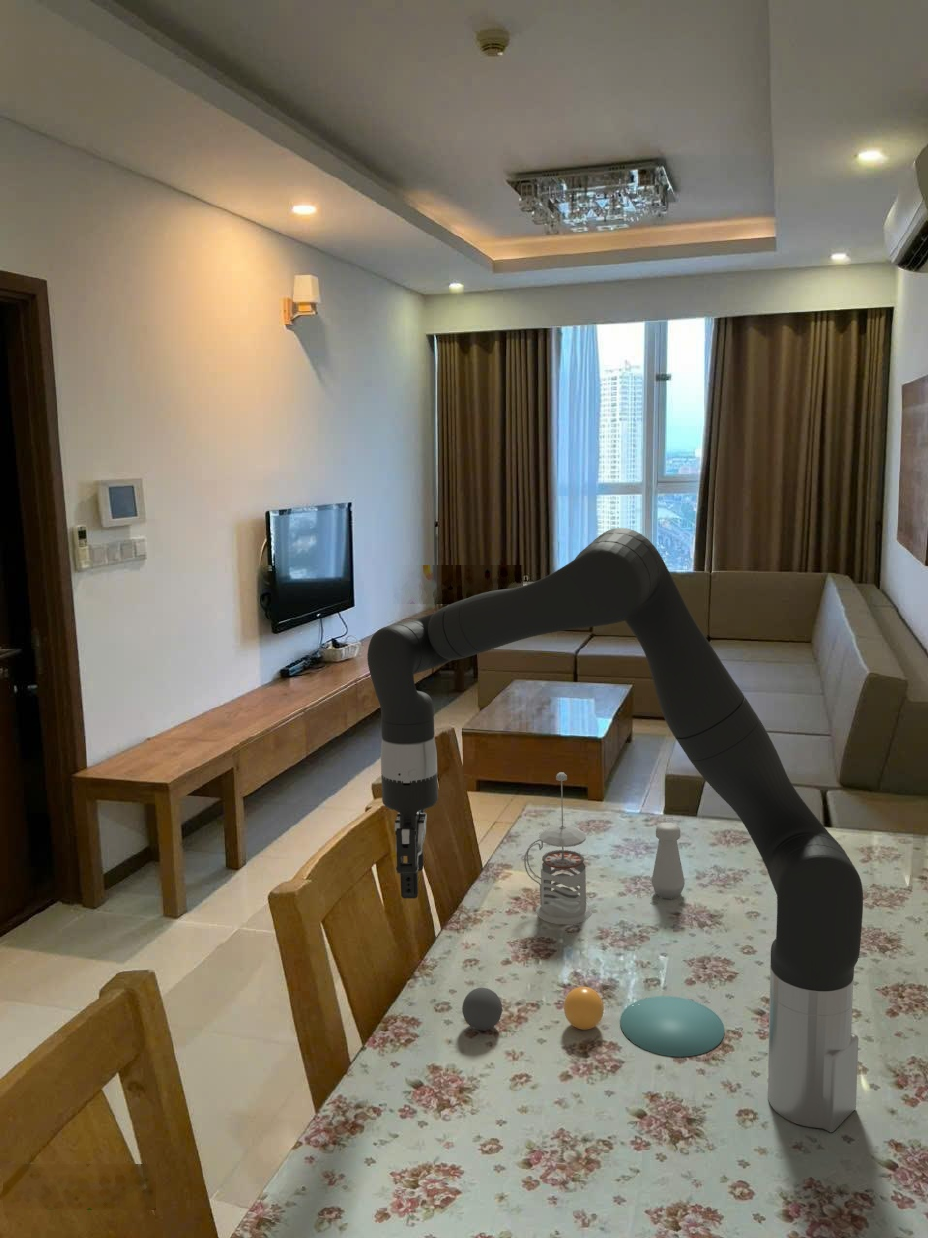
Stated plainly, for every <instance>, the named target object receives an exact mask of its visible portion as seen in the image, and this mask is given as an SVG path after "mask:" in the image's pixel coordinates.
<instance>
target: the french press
mask: <svg viewBox="0 0 928 1238" xmlns="http://www.w3.org/2000/svg"><path fill="white" fill-rule="evenodd" d="M555 780H556V781H557V782H558V781H559V782H560V791H561V792H560V793H561V795H560V798H561V799H560V801H561V802H560V803H561V824H558V825H552V826H549V827H547V828H545V829H543V830H542V831H541V832H540V833H539V837H538V838H539V839H537V840H534V841H532V843H531V844H530V845H529V847H528V848H527V849H526V851H525V854H524V857H523V860H524V861H523V862H524V869H525V871H526V874H527V875H528V877H529V878H530V879H531V880H532V881H534V882H536V883H537V884H538V885H539V898H540V899H539V901H540V902H539V904H538V905H537V906H536V908H535V914H536V915H537V916H538V917H539V918H540V919H541V920H543V921H545V922H547V923H551V924H556V925H573V924H579V923H582V922H584V921H586V920H588V919H589V918H590V917H591V916H592V915H593V909H592V907H590V905H589V904H588V903H587V880H586V879H587V877H586V876H587V874H586V873H587V871H586V868H587V867H586V864H585V863H584V860H585V859H584V858H585V857H584V855H582V854H581V853H580V852H577V851H575V850H569V849H567V850H566V849H565V850H564V848H569V847H576V846H580V845H581V844H583V843H584V842H585V841H586V839H587V833H585V831H583V830H581V829H579V828H578V827H575V826H572V825H569V824H564V809H563V808H564V807H563V806H564V805H563V803H564V801H563V798H564V797H563V794H564V793H563V781H567V780H568V775H567V774H566V773H565V772H564V771H563V772H561V771H560V772H558V773H557V774H556V775H555ZM539 842H540V843H541V844H540V843H539ZM544 844H546V845H549V846H553V847H559V848H562V849H556V850H555V849H554V850H551V851H547V852H546V853H544V854H543V855H542V860H541V861H542V864H541V865H542V866H541V868H540V876H539V875H537V874H536V873H535V872H534V871H533V870H532V868H531V867H530V862H529V852H530V849H532V848H533V847H534V846H536V845H538V849H539V850H538V851H542V849H543V847H544ZM526 863H527V864H526ZM528 869H529V871H530V872H531V874H533V876H534V877H536V878H538V879H539V880H540V882H539V881H538V880H536V879H534V878H533V877H532V876H531V874H530V872H529V871H528ZM573 869H575V870H576V871H578V872H579V873H577V872H575V870H573ZM559 871H565V872H569V873H571V874H569V873H564V872H561V873H557V874H555V872H559ZM552 882H553V883H552ZM559 885H562V886H559ZM578 886H579V887H578ZM573 889H574V890H573Z"/></svg>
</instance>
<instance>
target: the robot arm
mask: <svg viewBox="0 0 928 1238" xmlns="http://www.w3.org/2000/svg"><path fill="white" fill-rule="evenodd" d="M624 621H625V622H626V624H627V626H628V627H629V629H630V630H631V631H632V633H633V634H634V636H635V637H636V640H638V642H639V644H640V646H641V648H642V650H643V653H644V655H645V658H646V660H647V665H648V666H649V670H650V674H651V677H652V681H653V685H654V689H655V692H656V697H657V700H658V704H659V705H660V706H659V707H660V710H661V712H662V715H663V718H664V720H665V722H666V725H667V726H668V728H669V730H670V733H672V735H673V737H674V738H675V740H676V742H677V743H678V745H680V747H681V749H682V751H683V752H684V753H685V755H686V756H687V758H688V760H689V761H690V762H691V765H693V766H694V768H695V769H696V771H698V773H699V774H700V775H701V777H702V778H703V779H704V780H705V782H706V783H707V784H708V785H709V786H710V787H711V788H712V789H713V790H714V791H715V793H716V794H718V795H719V796H720V797H721V798H722V799H723V800H724V801H725V802H726V804H727V805H729V807H730V808H731V809H732V810H733V811H734V812H735V814H736V815H737V816H738V818H739V819H740V820H741V822H742V823H743V826H744V827H745V829H746V831H747V832H748V834H749V836H750V838H751V840H752V841H753V844H754V845H755V847H756V849H757V851H758V852H759V856H760V857H761V859H762V862H763V863H764V865H765V868H766V870H767V872H768V873H767V874H768V876H769V879H770V882H771V884H772V886H773V889H774V893H776V932H775V939H774V940H773V942H772V944H771V946H770V969H769V970H770V971H769V973H770V974H769V1008H768V1010H769V1011H768V1015H769V1016H768V1020H769V1021H768V1057H767V1059H768V1060H767V1061H768V1062H767V1063H768V1064H767V1065H768V1066H767V1067H768V1068H767V1071H768V1072H767V1099H768V1102H769V1104H770V1106H771V1107H772V1109H773V1110H774V1111H775V1112H776V1113H778V1115H780V1116H781V1117H783V1119H786V1120H788V1121H789V1122H792V1123H794V1124H796V1125H799V1126H804V1127H807V1128H818V1129H823V1130H825V1131H827V1132H830V1133H833V1132H834V1131H836V1130H837V1128H839V1126H841V1124H842V1123H843V1122H844V1121H845V1120H846V1119H847V1118H848V1117H849V1116H850V1115H851V1114H852V1113H853V1112H855V1110H856V1109H857V1092H858V1091H857V1090H858V1064H859V1063H858V1061H859V1037H858V1035H857V1034H855V1033H854V1032H853V1033H852V1030H853V1029H852V1027H853V1026H852V1024H853V1001H854V1000H853V998H854V997H853V996H854V976H855V966H856V964H857V962H859V961H858V960H859V958H860V953H861V943H862V942H861V941H862V929H863V927H862V926H863V925H862V924H863V914H864V912H863V911H864V891H863V884H862V880H861V876H860V874H859V872H858V871H857V870H858V869H856V867H855V865H854V864H853V862H852V860H851V859H850V857H849V856H848V854H847V853H846V851H845V850H844V848H843V847H842V845H840V843H839V842H838V841H837V840H836V838H835V837H834V836H833V835H832V834H831V833H830V832H829V830H827V828H826V827H825V826H824V825H823V824H822V823H821V821H820V820H819V819H818V818H817V816H816V815H815V814H814V813H813V811H812V810H811V809H810V808H809V806H808V805H807V803H806V802H805V801H804V800H803V798H802V797H801V796H800V794H799V793H798V792H797V790H796V789H795V787H794V785H793V784H792V782H791V780H790V778H789V776H788V773H787V772H786V770H785V768H784V765H783V763H782V760H781V757H780V756H779V754H778V751H777V749H776V747H775V745H774V743H773V741H772V739H771V737H770V735H769V734H768V731H767V730H766V728H765V727H764V724H763V723H762V721H761V720H760V718H759V717H758V715H757V713H756V712H755V710H754V708H753V707H752V705H751V703H749V700H748V699H747V697H746V696H745V695H744V693H743V692H742V689H740V687H739V686H738V684H737V683H736V682H735V680H734V679H733V677H732V675H731V674H730V673H729V672H728V670H727V669H726V667H725V665H724V664H723V662H722V660H721V659H720V657H719V656H718V654H717V652H716V651H715V649H714V647H712V645H711V643H710V642H709V640H708V639H707V637H706V636H705V635H704V633H703V632H702V630H701V629H700V627H699V625H698V624H697V623H696V621H695V619H694V617H693V615H692V614H691V612H690V610H689V609H688V606H687V605H686V603H685V600H684V598H683V597H682V595H681V592H680V591H679V588H678V587H677V585H676V583H675V581H674V579H673V577H672V574H671V573H670V571H669V569H668V566H667V564H666V563H665V561H664V559H663V557H662V555H661V554H660V552H659V550H658V548H657V547H655V545H654V544H653V543H652V542H651V540H649V539H648V537H646V536H645V535H643V534H642V533H639V532H638V531H636V530H633V529H631V528H625V527H615V528H611V529H608V530H606V531H604V532H603V533H602V534H600V535H599V536H597V537H596V538H595V539H594V540H593V541H591V542H590V543H589V544H588V545H587V546H586V547H584V549H582V550H581V551H580V552H579V553H578V554H577V556H576V557H575V558H574V559H573V560H572V561H571V562H569V563H567V564H566V565H564V566H562V567H561V568H559V569H557V570H556V571H553V572H551V573H550V574H548V575H547V576H545V577H542V578H541V579H538V580H536V581H533V582H531V583H528V584H525V585H522V586H517V587H513V588H505V589H497V590H491V591H485V592H481V593H478V594H474V595H472V596H470V597H468V598H466V597H465V598H464V599H460V600H458V601H455V602H453V603H450V604H448V605H446V606H443V607H442V608H439V609H438V610H436V611H435V612H434V613H431V614H427V615H424V616H420V617H417V618H414V619H410V620H407V621H403V622H399V623H395V624H390V625H386V626H383V627H381V628H380V629H378V630H377V631H376V632H375V633H374V634H373V635H372V637H371V638H370V641H369V644H368V648H367V655H366V656H367V660H366V661H367V665H368V670H369V671H368V672H369V674H370V677H371V681H372V684H373V687H374V688H373V689H374V692H375V695H376V697H377V701H378V703H379V706H380V713H381V714H380V720H381V721H380V724H381V726H380V727H381V747H380V770H381V771H380V773H381V774H380V775H381V802H382V804H383V805H384V807H386V808H387V809H388V810H392V811H393V810H394V811H396V812H397V813H396V819H395V820H394V831H395V832H394V833H395V835H394V836H395V852H396V867H395V870H396V873H397V874H400V897H401V898H402V899H417V898H418V895H419V880H418V879H419V876H418V875H419V873H418V872H421V871H423V870H424V866H425V865H424V845H423V844H424V843H425V840H426V838H425V836H426V834H427V812H425V810H427V809H431V808H432V807H434V806H435V805H436V804H437V802H438V800H439V788H438V786H439V785H438V783H439V782H438V755H437V754H438V753H437V751H438V750H437V745H436V739H435V710H434V704H433V703H434V702H433V699H432V698H431V696H430V694H428V693H426V692H424V691H420V690H417V687H416V684H415V676H414V675H417V674H420V673H422V672H425V671H428V670H432V669H434V668H437V667H439V666H442V665H444V664H447V663H449V662H451V661H455V660H457V661H458V660H462V659H466V658H468V657H469V658H470V657H473V656H476V655H479V654H481V653H482V654H483V653H485V652H489V651H491V650H494V649H497V648H501V647H503V646H506V645H509V644H512V643H515V642H518V641H522V640H526V639H529V638H533V637H537V636H542V635H546V634H550V633H556V632H557V633H558V632H561V631H568V630H576V629H585V628H586V629H587V628H593V627H601V626H606V625H612V624H613V625H614V624H617V623H622V622H624ZM404 857H406V861H407V862H404V859H405V858H404Z"/></svg>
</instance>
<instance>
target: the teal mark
mask: <svg viewBox="0 0 928 1238" xmlns="http://www.w3.org/2000/svg"><path fill="white" fill-rule="evenodd" d="M638 1004H640V1005H638ZM632 1005H634V1006H632ZM619 1022H620V1023H619V1024H620V1025H621V1026H620V1029H621V1028H622V1029H621V1032H622V1033H623V1032H624V1033H623V1034H624V1036H625V1035H626V1036H627V1037H628V1038H629V1039H630V1040H631V1041H632V1042H631V1041H630V1040H629V1039H628V1038H627V1037H626V1036H625V1037H626V1038H627V1039H628V1040H629V1041H630V1042H631V1043H633V1044H634V1043H635V1044H636V1045H635V1044H634V1045H635V1046H637V1045H638V1046H637V1047H639V1046H640V1047H639V1048H641V1049H643V1050H645V1051H648V1052H650V1053H653V1054H657V1055H661V1056H667V1057H678V1058H682V1057H683V1058H684V1057H685V1058H686V1057H693V1056H699V1055H703V1054H705V1053H708V1052H710V1051H712V1050H714V1049H715V1048H717V1047H718V1046H719V1045H720V1044H721V1042H722V1041H723V1039H724V1037H725V1026H724V1023H723V1020H722V1019H721V1017H720V1016H719V1015H718V1014H717V1013H716V1012H715V1011H713V1010H712V1009H711V1008H709V1007H707V1006H706V1005H704V1004H702V1003H701V1002H700V1003H699V1002H697V1001H695V1000H691V999H689V998H685V997H679V996H671V995H666V996H665V995H662V996H661V995H659V996H658V995H657V996H651V997H646V998H642V999H639V1000H636V1001H634V1002H632V1003H630V1004H629V1005H628V1006H627V1007H626V1008H624V1010H623V1011H622V1013H621V1015H620V1019H619Z"/></svg>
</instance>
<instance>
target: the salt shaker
mask: <svg viewBox="0 0 928 1238" xmlns="http://www.w3.org/2000/svg"><path fill="white" fill-rule="evenodd" d="M655 837H656V838H657V839H658V842H657V848H656V856H655V861H654V867H653V872H652V877H651V885H652V887H653V890H654V893H655V895H656V896H658V897H660V898H661V899H666V900H675V899H677V898H678V897H680V896H681V894H682V892H683V890H684V888H685V883H686V881H685V877H684V872H683V871H684V870H683V866H682V861H681V855H680V851H679V850H680V849H679V845H678V840H679V839H680V838H681V827H680V826H679V825H678V824H677V823H674V822H661V823H659V824H657V826H656V828H655Z"/></svg>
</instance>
